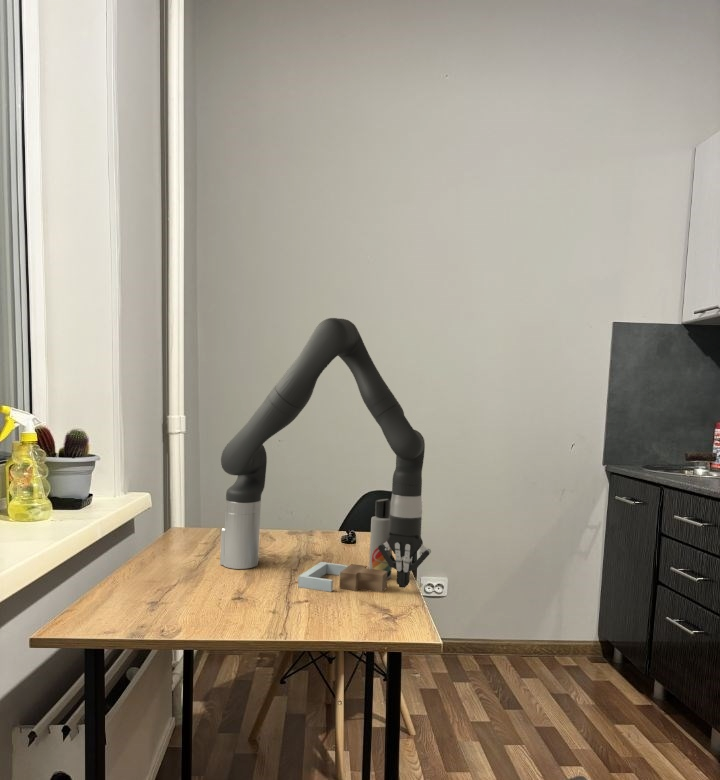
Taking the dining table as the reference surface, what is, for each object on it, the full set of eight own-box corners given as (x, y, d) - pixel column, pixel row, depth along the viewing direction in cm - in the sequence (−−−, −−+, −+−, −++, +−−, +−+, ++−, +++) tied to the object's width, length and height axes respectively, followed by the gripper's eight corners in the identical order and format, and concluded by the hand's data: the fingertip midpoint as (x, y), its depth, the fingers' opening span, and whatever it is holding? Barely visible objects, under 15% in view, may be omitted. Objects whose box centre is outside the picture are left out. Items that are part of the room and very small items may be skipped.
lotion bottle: (389, 581, 145) (392, 501, 146) (367, 578, 146) (370, 499, 147) (392, 574, 151) (395, 497, 151) (371, 572, 152) (374, 496, 152)
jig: (297, 586, 138) (298, 576, 138) (320, 571, 151) (321, 561, 151) (330, 591, 135) (331, 581, 135) (351, 575, 148) (351, 565, 149)
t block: (339, 589, 138) (340, 572, 138) (350, 579, 145) (351, 563, 145) (379, 595, 135) (380, 577, 135) (389, 585, 142) (389, 568, 142)
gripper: (374, 513, 136) (371, 587, 136) (429, 519, 132) (426, 595, 131) (383, 508, 143) (380, 578, 143) (436, 513, 139) (433, 586, 138)
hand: (402, 586), depth 137 cm, fingers closed
